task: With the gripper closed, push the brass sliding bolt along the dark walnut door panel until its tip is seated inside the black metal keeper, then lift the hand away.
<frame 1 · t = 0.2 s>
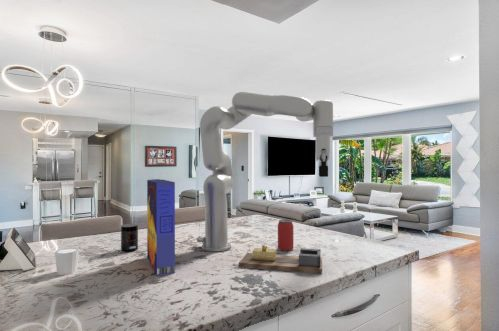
hand: (323, 176, 116), 31 cm above the kitchen island, tool pointing down, fingers open, 9 cm apart
door panel: (281, 264, 105), on the kitchen island
supplement container: (129, 250, 123), on the kitchen island
cereal box: (160, 264, 105), on the kitchen island
bolt: (264, 252, 106), point 4 cm above the kitchen island, slide at 0.0 cm
beer can: (285, 249, 124), on the kitchen island
keeper: (310, 266, 102), resting on door panel
white cup: (67, 272, 98), on the kitchen island
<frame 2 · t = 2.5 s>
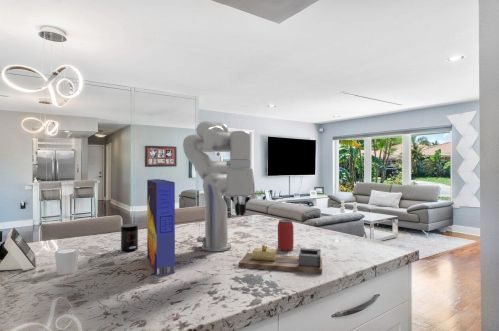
hand: (240, 214, 109), 17 cm above the kitchen island, tool pointing down, fingers closed
nothing on the kitchen island moved.
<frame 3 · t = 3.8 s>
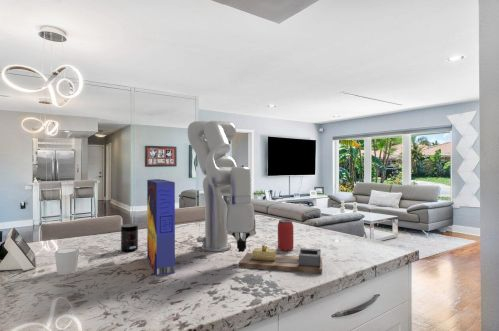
hand: (241, 250, 108), 4 cm above the kitchen island, tool pointing down, fingers closed
nothing on the kitchen island moved.
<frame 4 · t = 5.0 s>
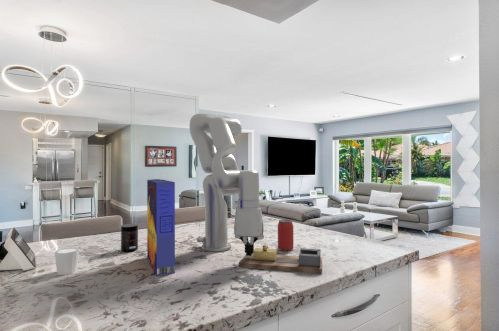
hand: (249, 254, 107), 3 cm above the kitchen island, tool pointing down, fingers closed
bolt: (265, 252, 106), point 4 cm above the kitchen island, slide at 0.3 cm, touching gripper
everything else where it was.
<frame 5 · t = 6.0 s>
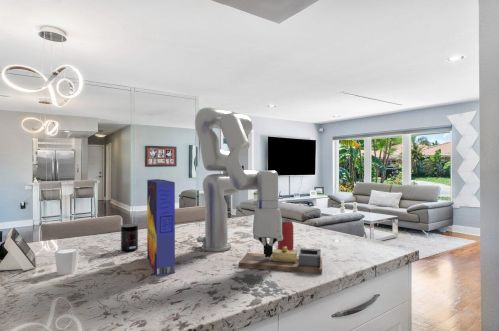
hand: (268, 256, 106), 3 cm above the kitchen island, tool pointing down, fingers closed
bolt: (284, 253, 105), point 4 cm above the kitchen island, slide at 7.2 cm, touching gripper
everything else where it was.
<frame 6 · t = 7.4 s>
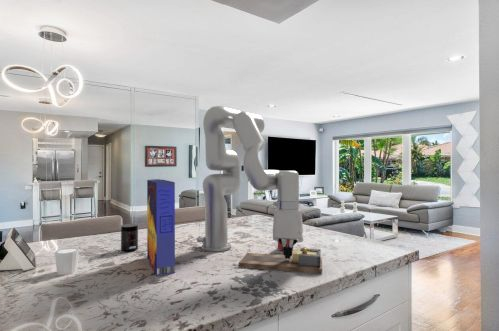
hand: (287, 257, 104), 3 cm above the kitchen island, tool pointing down, fingers closed
bolt: (304, 254, 103), point 4 cm above the kitchen island, slide at 14.2 cm, touching gripper
everything else where it was.
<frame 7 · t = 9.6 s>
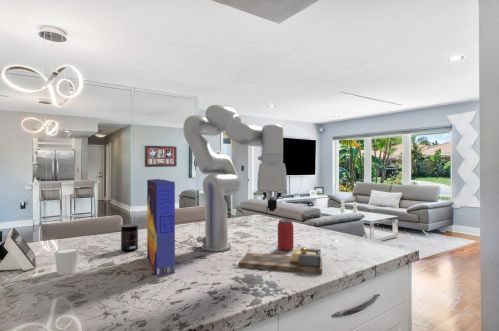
hand: (272, 210, 106), 19 cm above the kitchen island, tool pointing down, fingers closed
bolt: (304, 254, 103), point 4 cm above the kitchen island, slide at 14.0 cm
everything else where it was.
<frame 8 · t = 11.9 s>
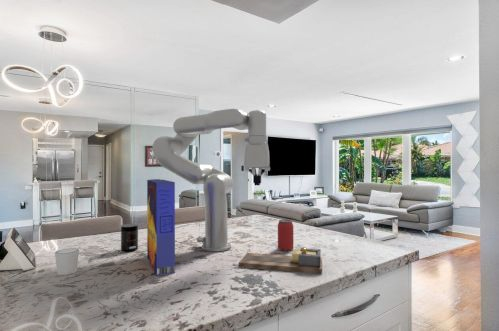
hand: (257, 185, 122), 27 cm above the kitchen island, tool pointing down, fingers closed
nothing on the kitchen island moved.
at the end: bolt slide at 14.0 cm; beer can moved 0.2 cm from its start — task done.
